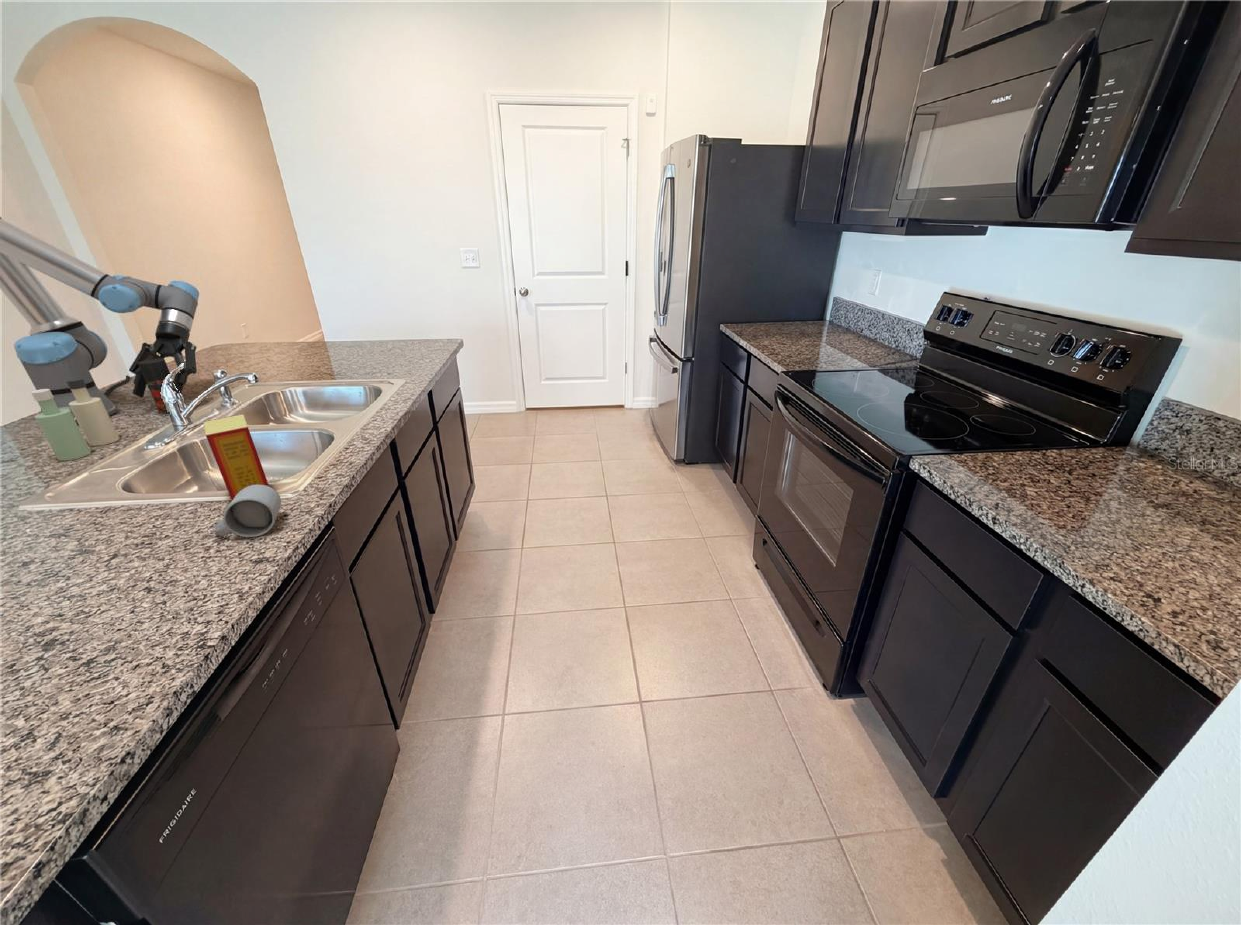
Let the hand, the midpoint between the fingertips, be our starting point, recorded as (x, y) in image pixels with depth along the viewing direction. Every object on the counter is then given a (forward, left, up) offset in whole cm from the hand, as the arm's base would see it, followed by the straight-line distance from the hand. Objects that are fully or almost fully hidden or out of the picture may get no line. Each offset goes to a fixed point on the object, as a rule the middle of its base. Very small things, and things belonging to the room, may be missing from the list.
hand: (156, 394), depth 146 cm
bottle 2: (+19, -6, -6) cm, 21 cm away
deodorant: (-3, +1, -6) cm, 7 cm away
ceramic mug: (+80, +42, -6) cm, 91 cm away
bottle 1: (+28, -8, -6) cm, 30 cm away
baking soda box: (+65, +38, -6) cm, 76 cm away
